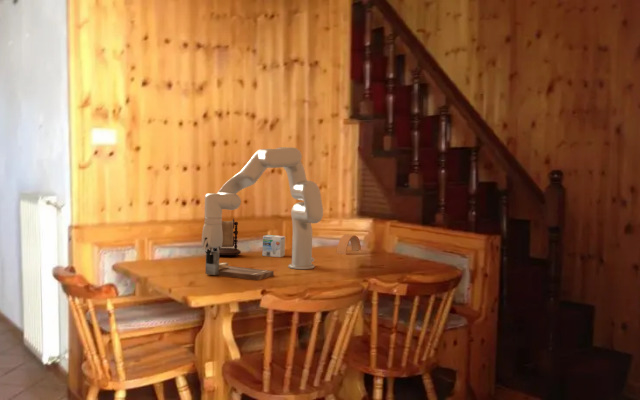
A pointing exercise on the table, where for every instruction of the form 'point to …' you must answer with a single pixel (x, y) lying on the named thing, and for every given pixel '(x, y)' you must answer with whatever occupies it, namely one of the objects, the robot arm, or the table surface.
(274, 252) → the light bulb box
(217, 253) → the marking gauge
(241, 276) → the walnut board
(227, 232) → the brown wooden chair
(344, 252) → the arch
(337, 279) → the table surface
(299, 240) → the robot arm
